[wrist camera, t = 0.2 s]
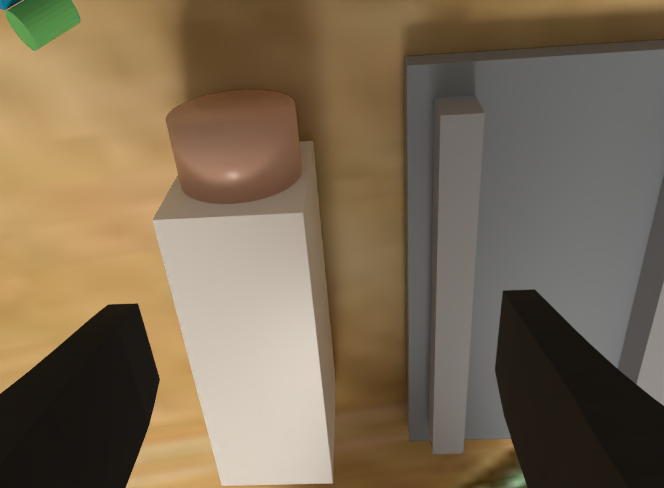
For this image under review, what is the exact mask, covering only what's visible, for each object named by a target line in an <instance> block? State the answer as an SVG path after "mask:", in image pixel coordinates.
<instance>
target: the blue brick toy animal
mask: <svg viewBox="0 0 664 488" xmlns="http://www.w3.org/2000/svg"><path fill="white" fill-rule="evenodd" d="M20 1H21V0H0V9H3V10H6V9H8V8H9V7H11V6H13V5H15V4H16V3H18V2H20ZM6 17H7V19H8V21H9V23H10V25H11V27H12V28H13V30H14V31H15V32H16V34H17V35H18V36H19V37H20V39H21V40H22V41H23V42H24V43H25V44H26V45H27V46H28V47H30V48H31V49H33V50H35V51H36V50H37V49H39V48H41V47H42V46H44V45H45V44H47V43H49V42H50V41H52V40H53V39H55V38H56V37H58V36H60V35H61V34H63V33H64V32H66V31H68V30H69V29H71V28H72V27H74V26H75V25H77V24H79V23H80V16H79V13H78V11H77V9H76V7H75V6H74V4H73V2H72V1H71V0H24V1H23V2H21V3H19V4H18V5H16V6H14V7H12V8H11V9H9V10H7V11H6Z"/></svg>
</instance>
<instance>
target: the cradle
mask: <svg viewBox="0 0 664 488" xmlns="http://www.w3.org/2000/svg"><path fill="white" fill-rule="evenodd" d="M404 76H405V187H406V298H407V408H408V432H409V441H431V446H432V453H433V454H463V450H464V440H483V439H511V436H510V433H509V430H508V427H507V424H506V421H505V418H504V413H503V409H502V404H501V399H500V394H499V389H498V384H497V379H496V373H495V363H496V353H497V343H498V333H499V323H500V313H501V303H502V293H503V290H531V289H535V290H536V291H537V292H538V293H539V294H540V295H541V296H542V297H543V298H544V299H545V300H546V301H547V302H548V303H549V304H550V305H551V306H552V307H553V308H554V309H555V310H556V311H557V312H558V313H559V314H560V315H561V316H562V317H563V318H564V319H565V320H566V321H567V322H568V323H569V324H570V325H571V326H572V327H573V328H574V329H575V330H576V331H577V332H578V333H579V334H581V335H582V336H583V337H584V338H585V339H586V340H587V341H588V342H589V343H590V344H591V345H592V346H593V347H594V348H595V349H596V350H598V351H599V352H600V353H601V354H602V355H603V356H604V357H605V358H606V359H607V360H608V361H610V362H611V363H612V364H613V365H614V366H615V367H616V368H617V369H619V370H620V371H621V372H622V373H623V374H625V375H626V376H627V377H628V378H629V379H631V380H632V381H633V382H634V383H636V384H637V385H638V386H639V387H640V388H642V389H643V390H644V391H645V392H647V393H648V394H649V395H650V396H652V397H653V398H654V399H655V400H657V401H658V402H659V403H661V404H662V405H663V406H664V40H650V41H634V42H619V43H603V44H588V45H573V46H557V47H542V48H526V49H511V50H496V51H480V52H465V53H449V54H434V55H419V56H404Z"/></svg>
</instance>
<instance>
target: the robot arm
mask: <svg viewBox="0 0 664 488" xmlns="http://www.w3.org/2000/svg"><path fill="white" fill-rule="evenodd" d="M495 373H496V379H497V384H498V389H499V394H500V399H501V404H502V409H503V413H504V418H505V421H506V424H507V427H508V430H509V433H510V436H511V439H512V442H513V445H514V448H515V451H516V454H517V457H518V460H519V463H520V466H521V469H522V472H523V475H524V478H525V481H526V484H527V487H528V488H664V406H663V405H662V404H661V403H659V402H658V401H657V400H655V399H654V398H653V397H652V396H650V395H649V394H648V393H647V392H645V391H644V390H643V389H642V388H640V387H639V386H638V385H637V384H636V383H634V382H633V381H632V380H631V379H629V378H628V377H627V376H626V375H625V374H623V373H622V372H621V371H620V370H619V369H617V368H616V367H615V366H614V365H613V364H612V363H611V362H610V361H608V360H607V359H606V358H605V357H604V356H603V355H602V354H601V353H600V352H599V351H598V350H596V349H595V348H594V347H593V346H592V345H591V344H590V343H589V342H588V341H587V340H586V339H585V338H584V337H583V336H582V335H581V334H579V333H578V332H577V331H576V330H575V329H574V328H573V327H572V326H571V325H570V324H569V323H568V322H567V321H566V320H565V319H564V318H563V317H562V316H561V315H560V314H559V313H558V312H557V311H556V310H555V309H554V308H553V307H552V306H551V305H550V304H549V303H548V302H547V301H546V300H545V299H544V298H543V297H542V296H541V295H540V294H539V293H538V292H537V291H536V290H535V289H531V290H503V293H502V303H501V313H500V323H499V333H498V343H497V353H496V363H495ZM159 380H160V378H159V375H158V371H157V368H156V365H155V361H154V358H153V354H152V351H151V347H150V344H149V340H148V337H147V333H146V330H145V327H144V323H143V320H142V316H141V313H140V309H139V306H138V304H113V305H107V306H106V307H105V308H103V309H102V310H101V311H99V312H98V313H97V314H96V315H95V316H93V317H92V318H91V319H90V320H89V321H87V322H86V323H85V324H84V325H83V326H82V327H80V328H79V329H78V330H77V331H76V332H75V333H73V334H72V335H71V336H70V337H69V338H68V339H67V340H65V341H64V342H63V343H62V344H61V345H60V346H58V347H57V348H56V349H55V350H54V351H52V352H51V353H50V354H49V355H48V356H47V357H45V358H44V359H43V360H42V361H41V362H40V363H38V364H37V365H36V366H35V367H34V368H32V369H31V370H30V371H29V372H28V373H26V374H25V375H24V376H23V377H21V378H20V379H19V380H17V381H16V382H15V383H14V384H12V385H11V386H10V387H8V388H7V389H6V390H5V391H3V392H2V393H1V394H0V488H126V485H127V482H128V480H129V477H130V475H131V472H132V469H133V467H134V464H135V462H136V459H137V456H138V454H139V451H140V448H141V446H142V443H143V440H144V438H145V435H146V432H147V429H148V427H149V423H150V419H151V415H152V411H153V407H154V403H155V399H156V394H157V389H158V385H159Z"/></svg>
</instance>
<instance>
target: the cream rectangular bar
mask: <svg viewBox="0 0 664 488" xmlns="http://www.w3.org/2000/svg"><path fill="white" fill-rule="evenodd" d="M166 123H167V127H168V132H169V136H170V140H171V145H172V149H173V154H174V158H175V163H176V167H177V171H178V176H177V177H176V179H175V181H174V183H173V185H172V186H171V188H170V190H169V192H168V193H167V195H166V197H165V199H164V201H163V202H162V204H161V206H160V208H159V209H158V211H157V213H156V215H155V217H154V218H153V224H154V228H155V232H156V236H157V239H158V243H159V247H160V251H161V255H162V258H163V262H164V266H165V270H166V274H167V278H168V281H169V285H170V289H171V293H172V297H173V301H174V304H175V308H176V312H177V316H178V320H179V323H180V327H181V331H182V335H183V339H184V343H185V346H186V350H187V354H188V358H189V362H190V366H191V369H192V373H193V377H194V381H195V385H196V388H197V392H198V396H199V400H200V404H201V408H202V411H203V415H204V419H205V423H206V427H207V431H208V434H209V438H210V442H211V446H212V450H213V453H214V457H215V461H216V465H217V469H218V473H219V476H220V480H221V484H222V486H233V485H280V484H326V483H333V464H334V433H335V401H336V379H335V368H334V357H333V347H332V336H331V325H330V315H329V304H328V294H327V283H326V272H325V262H324V251H323V240H322V230H321V219H320V208H319V198H318V187H317V176H316V166H315V155H314V145H313V141H302V142H299V135H298V126H297V116H296V107H295V102H294V100H293V99H292V98H291V97H289V96H287V95H285V94H282V93H279V92H274V91H267V90H236V91H227V92H220V93H215V94H210V95H206V96H202V97H199V98H196V99H193V100H190V101H187V102H185V103H183V104H181V105H179V106H177V107H176V108H174V109H173V110H172V111H170V113H169V114H168V115H167V117H166Z"/></svg>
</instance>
